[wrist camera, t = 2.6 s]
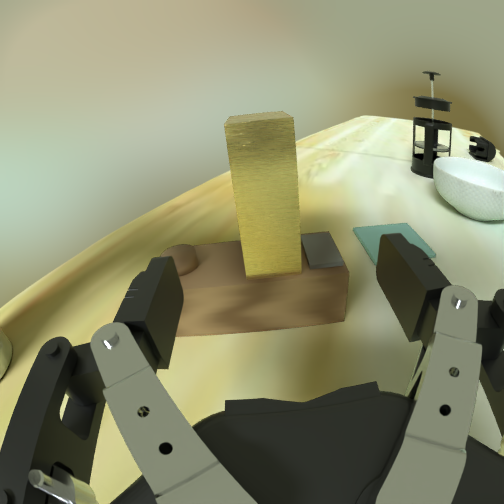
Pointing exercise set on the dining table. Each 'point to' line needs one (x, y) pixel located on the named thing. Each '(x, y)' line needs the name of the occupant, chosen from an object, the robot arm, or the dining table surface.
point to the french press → (429, 133)
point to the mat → (372, 234)
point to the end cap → (482, 149)
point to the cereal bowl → (471, 187)
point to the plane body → (258, 289)
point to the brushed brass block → (266, 192)
